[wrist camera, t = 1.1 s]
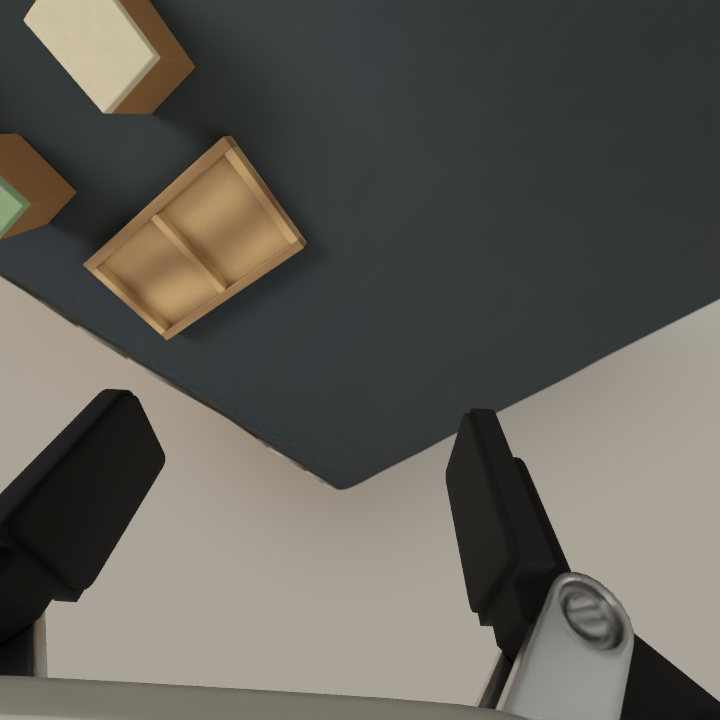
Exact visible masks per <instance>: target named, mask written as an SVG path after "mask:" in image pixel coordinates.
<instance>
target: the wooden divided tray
mask: <svg viewBox="0 0 720 720" xmlns="http://www.w3.org/2000/svg"><path fill="white" fill-rule="evenodd" d="M306 243H307V242H306V241H305V239H304V238H303V236H302V235H301V234H300V232H299V231H298V229H297V228H296V226H295V225H294V224H293V222H292V221H291V219H290V218H289V217H288V215H287V214H286V212H285V211H284V210H283V208H282V207H281V205H280V204H279V203H278V201H277V200H276V198H275V197H274V196H273V194H272V193H271V191H270V190H269V188H268V187H267V186H266V184H265V183H264V181H263V180H262V179H261V177H260V176H259V174H258V173H257V172H256V170H255V169H254V167H253V166H252V165H251V163H250V162H249V160H248V159H247V158H246V156H245V155H244V153H243V152H242V150H241V149H240V148H239V146H238V145H237V143H236V142H235V141H234V139H233V138H232V136H224V137H222V138H221V139H220V140H219V141H218V142H217V143H215V144H214V145H213V146H212V147H211V148H210V149H209V150H208V151H207V152H206V153H204V154H203V155H202V156H201V157H200V158H199V159H198V160H197V161H196V162H195V163H194V164H192V165H191V166H190V167H189V168H188V169H187V170H186V171H185V172H184V173H183V174H182V175H180V176H179V177H178V178H177V179H176V180H175V181H174V182H173V183H172V184H171V185H169V186H168V187H167V188H166V189H165V190H164V191H163V192H162V193H161V194H160V195H159V196H157V197H156V198H155V199H154V200H153V201H152V202H151V203H150V204H149V205H148V206H147V207H145V208H144V209H143V210H142V211H141V212H140V213H139V214H138V215H137V216H136V217H134V218H133V219H132V220H131V221H130V222H129V223H128V224H127V225H126V226H125V227H124V228H122V229H121V230H120V231H119V232H118V233H117V234H116V235H115V236H114V237H113V238H112V239H110V240H109V241H108V242H107V243H106V244H105V245H104V246H103V247H102V248H101V249H99V250H98V251H97V252H96V253H95V254H94V255H93V256H92V257H91V258H90V259H89V260H87V261H86V262H85V263H84V264H83V265H84V266H85V267H86V268H87V269H88V270H89V271H91V273H93V274H94V275H95V276H96V277H97V278H98V279H99V280H100V281H102V282H103V283H104V284H105V285H106V286H107V287H108V288H109V289H110V290H112V291H113V292H114V293H115V294H116V295H117V296H118V297H119V298H121V299H122V300H123V301H124V302H125V303H126V304H127V305H128V306H129V307H131V308H132V309H133V310H134V311H135V312H136V313H137V314H138V315H139V316H141V317H142V318H143V319H144V320H145V321H146V322H147V323H148V324H150V325H151V326H152V327H153V328H154V329H155V330H156V331H157V332H158V333H160V334H161V335H162V336H163V337H164V338H165V339H166V340H168V339H170V338H171V337H173V336H174V335H176V334H177V333H179V332H180V331H182V330H183V329H184V328H186V327H187V326H189V325H190V324H192V323H193V322H195V321H196V320H198V319H199V318H201V317H202V316H204V315H205V314H207V313H208V312H210V311H211V310H213V309H214V308H216V307H217V306H219V305H220V304H222V303H223V302H224V301H226V300H227V299H229V298H230V297H232V296H233V295H235V294H236V293H238V292H239V291H241V290H242V289H244V288H245V287H247V286H248V285H250V284H251V283H253V282H254V281H256V280H257V279H259V278H260V277H262V276H263V275H264V274H266V273H267V272H269V271H270V270H272V269H273V268H275V267H276V266H278V265H279V264H281V263H282V262H284V261H285V260H287V259H288V258H290V257H291V256H293V255H294V254H296V253H297V252H299V251H300V250H302V249H303V248H304V246H305V245H306Z"/></svg>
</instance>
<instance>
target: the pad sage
mask: <svg viewBox="0 0 720 720" xmlns="http://www.w3.org/2000/svg"><path fill="white" fill-rule="evenodd" d="M76 193H77V192H76V191H75V190H74V189H73V188H72V187H71V186H70V185H69V184H68V183H67V182H66V181H65V180H64V179H63V178H62V177H61V176H60V175H59V174H58V173H57V172H56V171H55V170H54V169H53V168H52V167H51V166H50V165H49V164H48V163H47V162H46V161H45V160H44V159H43V158H42V157H41V156H40V155H39V154H38V153H37V152H36V151H35V150H34V149H33V148H32V147H31V146H30V145H29V144H28V143H27V142H26V141H25V140H24V139H23V138H22V137H21V136H20V135H19V134H0V239H4V238H7V237H10V236H13V235H16V234H19V233H22V232H25V231H28V230H31V229H34V228H37V227H40V226H43V225H47V224H48V223H49V222H50V220H51V219H52V218H53V217H54V216H55V215H56V214H57V213H58V212H59V211H60V210H61V209H62V208H63V207H64V206H65V205H66V204H67V203H68V201H69V200H70V199H71V198H72V197H73V196H74V195H75V194H76Z"/></svg>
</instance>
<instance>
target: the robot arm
mask: <svg viewBox="0 0 720 720" xmlns="http://www.w3.org/2000/svg"><path fill="white" fill-rule="evenodd" d="M164 463H165V454H164V452H163V450H162V448H161V445H160V443H159V441H158V439H157V437H156V435H155V433H154V431H153V429H152V426H151V424H150V422H149V420H148V418H147V416H146V414H145V412H144V410H143V408H142V406H141V403H140V401H139V399H138V398H137V397H136V396H134V395H133V393H132V392H131V391H129V390H118V389H105V390H103V391H101V392H100V393H99V394H98V395H97V396H96V397H95V398H94V399H93V400H92V401H91V402H90V403H89V404H88V405H87V407H85V408H84V409H83V410H82V412H80V413H79V415H77V417H76V418H75V419H74V420H73V421H72V422H71V423H70V424H69V425H68V426H67V427H66V428H65V429H64V430H63V431H62V432H61V433H60V434H59V435H58V436H57V437H56V438H55V439H54V440H53V441H52V442H51V443H50V444H49V445H48V446H47V447H46V448H45V449H44V450H43V451H42V452H41V453H40V454H39V455H38V456H37V457H36V458H35V459H34V460H33V461H32V462H31V463H30V464H29V465H28V466H27V467H26V468H25V469H24V471H22V472H21V473H20V474H19V475H18V477H17V478H16V479H14V480H13V482H11V484H10V485H9V486H8V487H7V488H6V489H5V490H4V491H3V492H2V493H1V494H0V720H720V702H719V701H718V700H717V699H715V698H714V697H713V696H712V695H710V694H709V693H708V692H706V691H705V690H704V689H703V688H702V687H700V686H699V685H698V684H697V683H695V682H694V681H693V680H692V679H690V678H689V677H688V676H687V675H685V674H684V673H683V672H682V671H680V670H679V669H678V668H677V667H675V666H674V665H673V664H672V663H671V662H669V661H668V660H667V659H666V658H664V657H663V656H662V655H660V654H659V653H658V652H657V651H656V650H654V649H653V648H652V647H651V646H649V645H648V644H647V643H645V642H644V641H643V640H642V639H641V638H639V637H638V636H637V635H636V634H634V631H633V628H632V625H631V622H630V618H629V616H628V614H627V613H626V611H625V609H624V608H623V606H622V604H621V603H620V602H619V600H618V599H617V598H616V597H615V596H614V595H613V593H612V592H610V590H608V589H607V588H606V587H605V586H604V585H602V584H601V583H600V582H598V581H597V580H595V579H593V578H591V577H589V576H588V575H584V574H581V573H577V572H571V570H570V568H569V565H568V563H567V561H566V558H565V556H564V554H563V551H562V549H561V546H560V544H559V542H558V539H557V537H556V535H555V532H554V530H553V528H552V525H551V523H550V521H549V518H548V516H547V514H546V511H545V509H544V507H543V504H542V502H541V500H540V497H539V495H538V493H537V490H536V488H535V485H534V483H533V481H532V479H531V476H530V474H529V471H528V469H527V467H526V465H525V463H524V462H523V461H522V460H521V459H520V458H517V457H513V456H512V453H511V451H510V448H509V446H508V443H507V441H506V438H505V436H504V433H503V431H502V428H501V426H500V423H499V421H498V418H497V416H496V413H495V411H494V410H492V409H474V408H473V409H471V410H470V412H469V413H464V415H463V417H462V421H461V424H460V427H459V430H458V434H457V437H456V440H455V444H454V447H453V450H452V453H451V456H450V459H449V463H448V466H447V469H446V484H447V489H448V495H449V500H450V505H451V511H452V516H453V521H454V526H455V532H456V537H457V542H458V547H459V553H460V558H461V563H462V568H463V573H464V578H465V584H466V589H467V594H468V599H469V604H470V608H471V610H472V612H474V613H478V616H479V620H480V625H481V626H493V629H494V634H495V638H496V642H497V646H498V647H499V648H500V650H499V652H498V654H497V656H496V658H495V661H494V663H493V665H492V667H491V670H490V672H489V674H488V677H487V679H486V681H485V683H484V686H483V688H482V690H481V692H480V695H479V697H478V699H477V701H476V703H475V706H474V707H473V706H467V705H460V704H448V703H436V702H424V701H413V700H402V699H389V698H376V697H360V696H344V695H329V694H314V693H298V692H283V691H282V692H281V691H267V690H251V689H234V688H218V687H217V688H216V687H201V686H184V685H167V684H151V683H134V682H114V681H97V680H80V679H62V678H47V656H46V655H47V653H46V627H45V609H46V608H47V606H48V605H49V603H50V602H51V600H52V599H53V600H55V601H67V602H77V601H78V599H79V598H80V596H81V594H82V593H83V591H84V590H85V589H87V588H89V587H90V586H91V585H92V584H93V582H94V581H95V579H96V578H97V576H98V574H99V573H100V571H101V569H102V568H103V566H104V565H105V563H106V561H107V559H108V558H109V556H110V554H111V553H112V551H113V549H114V548H115V546H116V544H117V543H118V541H119V540H120V538H121V536H122V535H123V533H124V531H125V530H126V528H127V526H128V524H129V523H130V521H131V519H132V518H133V516H134V515H135V513H136V511H137V509H138V508H139V506H140V504H141V503H142V501H143V500H144V498H145V496H146V495H147V493H148V491H149V490H150V488H151V486H152V485H153V483H154V481H155V480H156V478H157V476H158V474H159V473H160V471H161V469H162V468H163V466H164Z"/></svg>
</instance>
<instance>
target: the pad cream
mask: <svg viewBox="0 0 720 720" xmlns="http://www.w3.org/2000/svg"><path fill="white" fill-rule="evenodd" d="M24 22H25V23H26V24H27V25H28V26H29V27H30V29H31V30H32V31H33V32H34V33H35V34H36V36H37V37H38V38H39V39H40V40H41V41H42V43H43V44H44V45H45V46H46V47H47V48H48V49H49V51H50V52H51V53H52V54H53V55H54V56H55V58H56V59H57V60H58V61H59V62H60V63H61V65H62V66H63V67H64V68H65V69H66V70H67V72H68V73H69V74H70V75H71V76H72V77H73V79H74V80H75V81H76V82H77V83H78V84H79V85H80V87H81V88H82V89H83V90H84V91H85V92H86V94H87V95H88V96H89V97H90V98H91V99H92V101H93V102H94V103H95V104H96V105H97V106H98V108H99V109H100V110H101V111H102V112H103V113H109V114H111V113H112V114H152V113H153V112H154V111H155V110H156V109H157V107H158V106H159V105H160V104H161V103H162V102H163V101H164V100H165V99H166V98H167V97H168V96H169V95H170V94H171V93H172V92H173V91H174V90H175V88H176V87H177V86H178V85H179V84H180V83H181V82H182V81H183V80H184V79H185V78H186V77H187V76H188V75H189V74H190V73H191V72H192V71H193V69H194V68H195V66H194V64H193V63H192V61H191V60H190V59H189V57H188V56H187V54H186V53H185V51H184V50H183V48H182V47H181V46H180V44H179V43H178V41H177V40H176V38H175V37H174V35H173V34H172V33H171V31H170V30H169V28H168V27H167V25H166V24H165V23H164V21H163V20H162V18H161V17H160V15H159V14H158V12H157V11H156V10H155V8H154V7H153V5H152V4H151V2H150V1H149V0H36V2H35V3H34V5H33V6H32V8H31V9H30V11H29V12H28V14H27V15H26V17H25V18H24Z"/></svg>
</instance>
